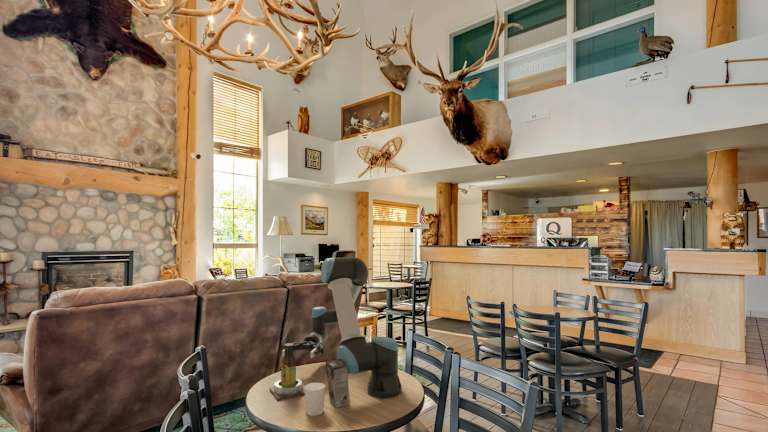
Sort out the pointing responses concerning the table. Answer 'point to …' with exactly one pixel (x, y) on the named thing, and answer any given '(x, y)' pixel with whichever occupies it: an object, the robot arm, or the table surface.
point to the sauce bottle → (288, 367)
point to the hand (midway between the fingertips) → (297, 354)
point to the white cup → (314, 398)
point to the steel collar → (288, 388)
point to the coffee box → (337, 383)
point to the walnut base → (282, 397)
